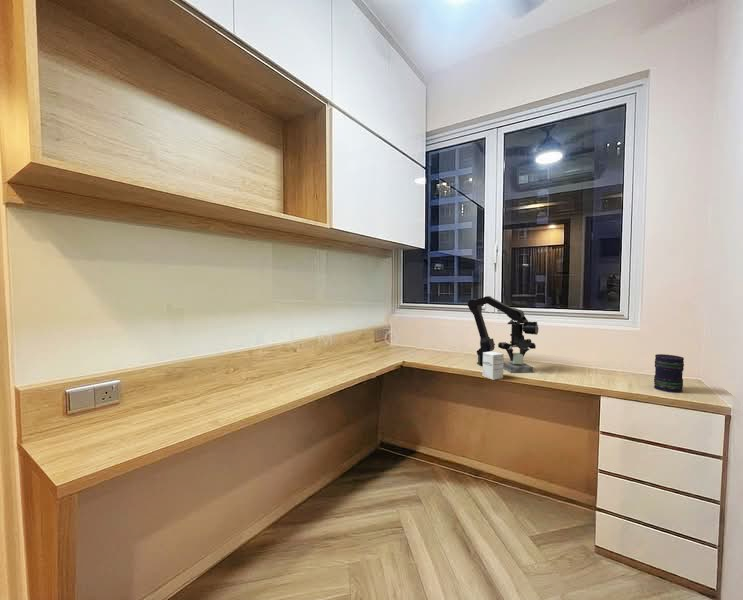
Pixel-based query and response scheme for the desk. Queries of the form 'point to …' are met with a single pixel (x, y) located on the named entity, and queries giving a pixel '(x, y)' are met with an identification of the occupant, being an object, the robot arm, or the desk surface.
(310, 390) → the desk surface
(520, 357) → the sage cube
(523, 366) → the charcoal base
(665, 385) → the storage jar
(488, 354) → the supplement box
